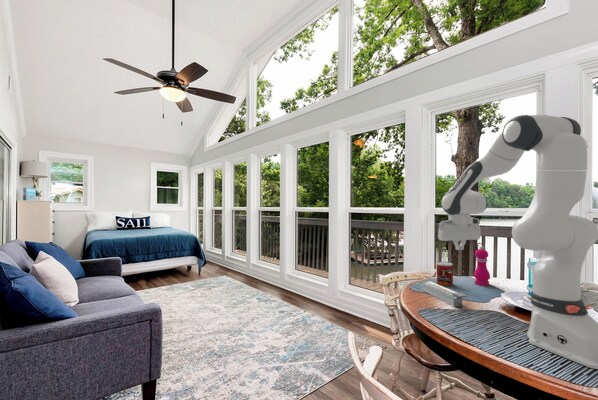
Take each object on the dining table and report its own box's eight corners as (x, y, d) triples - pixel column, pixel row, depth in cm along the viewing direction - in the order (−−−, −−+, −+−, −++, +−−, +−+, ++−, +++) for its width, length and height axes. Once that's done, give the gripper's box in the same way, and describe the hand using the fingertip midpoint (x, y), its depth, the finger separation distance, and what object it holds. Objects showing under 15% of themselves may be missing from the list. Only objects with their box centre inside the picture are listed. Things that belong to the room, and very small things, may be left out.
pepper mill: (477, 285, 147) (477, 247, 147) (471, 282, 154) (471, 245, 154) (493, 286, 146) (492, 247, 146) (486, 282, 153) (485, 245, 153)
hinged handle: (467, 306, 117) (467, 295, 117) (459, 307, 116) (458, 296, 116) (430, 289, 141) (430, 280, 141) (423, 290, 140) (422, 280, 140)
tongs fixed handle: (464, 307, 117) (464, 298, 117) (457, 308, 116) (457, 298, 116) (428, 290, 140) (428, 282, 140) (422, 290, 139) (422, 282, 139)
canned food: (435, 284, 149) (435, 263, 150) (438, 281, 156) (437, 261, 156) (452, 287, 145) (451, 265, 145) (454, 283, 152) (453, 262, 152)
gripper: (443, 221, 128) (444, 251, 128) (483, 220, 132) (483, 249, 132) (434, 220, 135) (435, 249, 134) (472, 219, 138) (472, 247, 138)
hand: (459, 249), depth 133 cm, fingers closed
